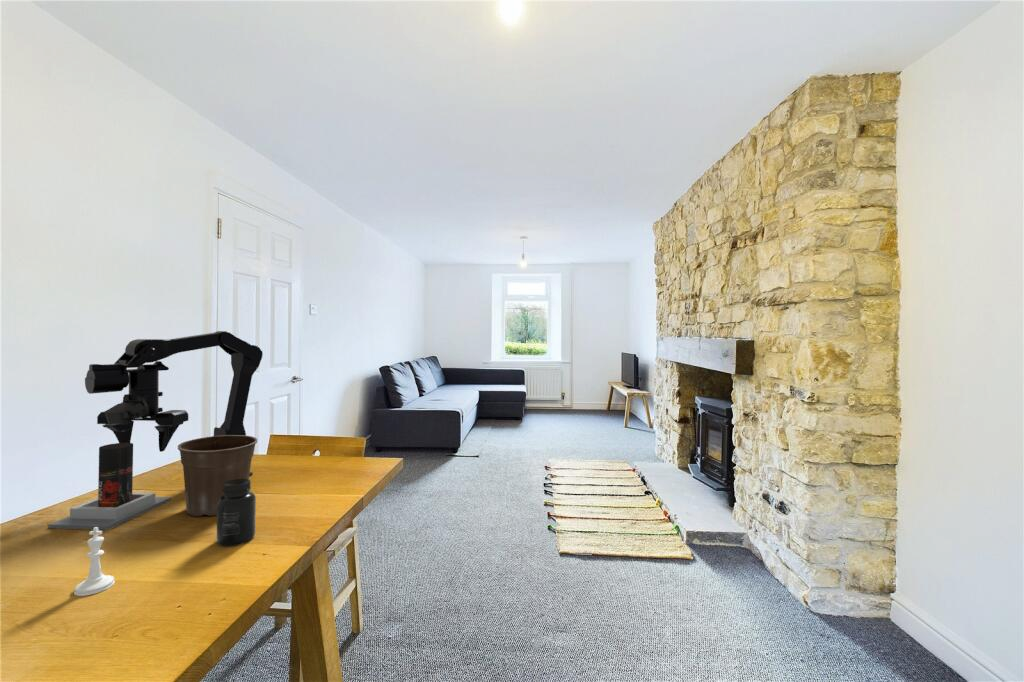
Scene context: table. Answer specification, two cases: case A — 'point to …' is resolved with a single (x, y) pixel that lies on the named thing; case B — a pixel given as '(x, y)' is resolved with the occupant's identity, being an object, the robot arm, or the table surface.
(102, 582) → the chess piece
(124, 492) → the deodorant
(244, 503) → the supplement bottle
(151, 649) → the table surface
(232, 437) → the plant pot
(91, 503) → the socket board
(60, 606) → the table surface
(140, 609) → the table surface
